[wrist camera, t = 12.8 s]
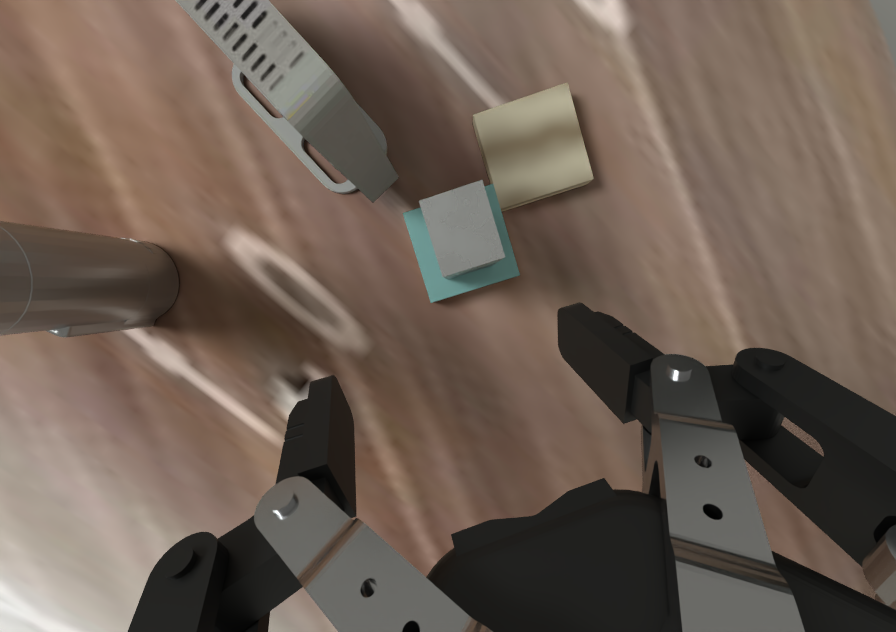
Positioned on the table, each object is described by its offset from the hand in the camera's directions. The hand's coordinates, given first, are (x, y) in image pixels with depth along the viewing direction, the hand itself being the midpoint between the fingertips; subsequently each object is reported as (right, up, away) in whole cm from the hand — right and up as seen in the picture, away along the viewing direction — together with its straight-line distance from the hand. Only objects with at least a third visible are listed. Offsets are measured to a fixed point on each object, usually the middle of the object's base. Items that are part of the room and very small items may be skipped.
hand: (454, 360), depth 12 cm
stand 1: (+1, +9, +27) cm, 29 cm away
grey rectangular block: (+1, +9, +25) cm, 27 cm away
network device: (-15, +24, +27) cm, 39 cm away
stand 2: (+9, +19, +26) cm, 34 cm away
